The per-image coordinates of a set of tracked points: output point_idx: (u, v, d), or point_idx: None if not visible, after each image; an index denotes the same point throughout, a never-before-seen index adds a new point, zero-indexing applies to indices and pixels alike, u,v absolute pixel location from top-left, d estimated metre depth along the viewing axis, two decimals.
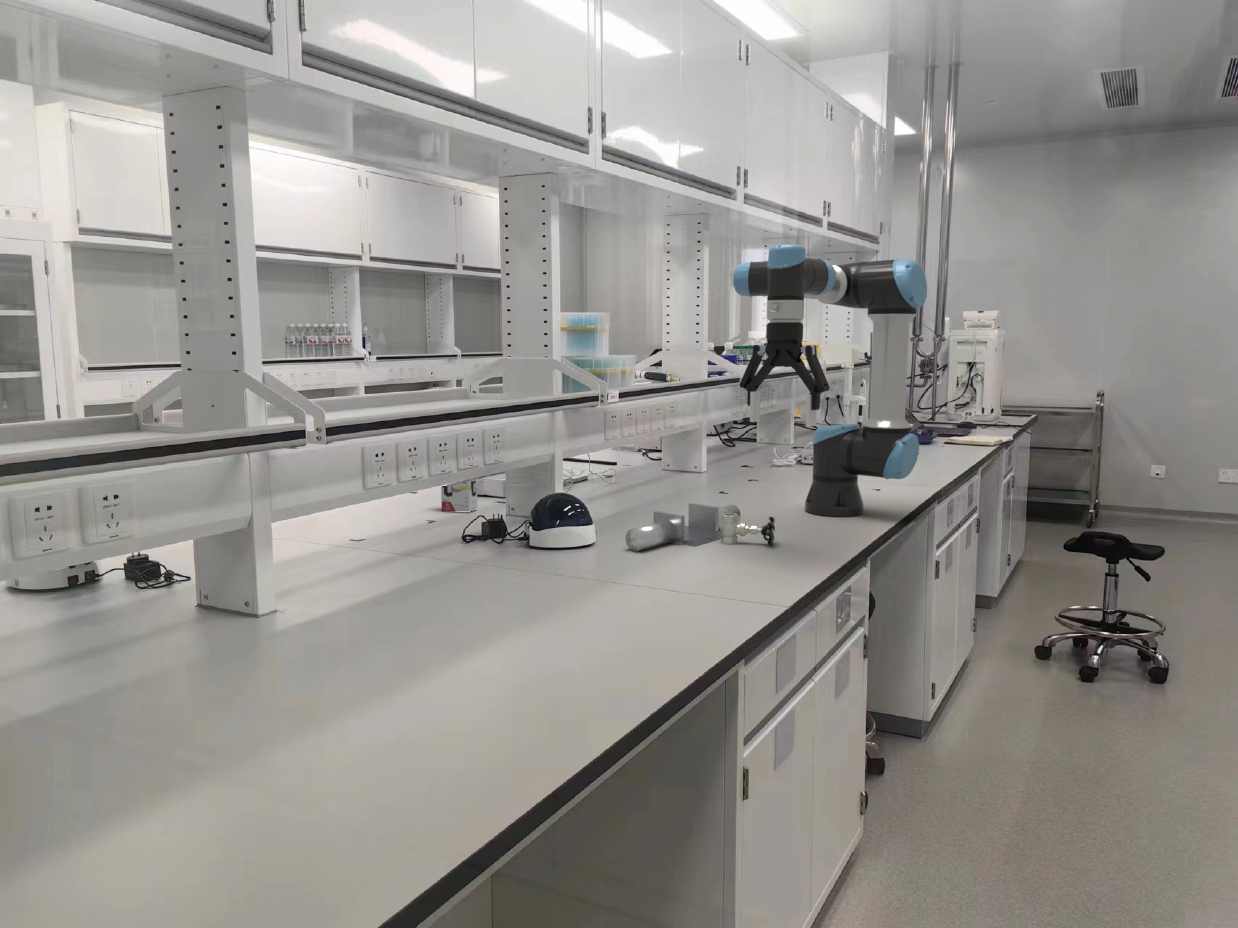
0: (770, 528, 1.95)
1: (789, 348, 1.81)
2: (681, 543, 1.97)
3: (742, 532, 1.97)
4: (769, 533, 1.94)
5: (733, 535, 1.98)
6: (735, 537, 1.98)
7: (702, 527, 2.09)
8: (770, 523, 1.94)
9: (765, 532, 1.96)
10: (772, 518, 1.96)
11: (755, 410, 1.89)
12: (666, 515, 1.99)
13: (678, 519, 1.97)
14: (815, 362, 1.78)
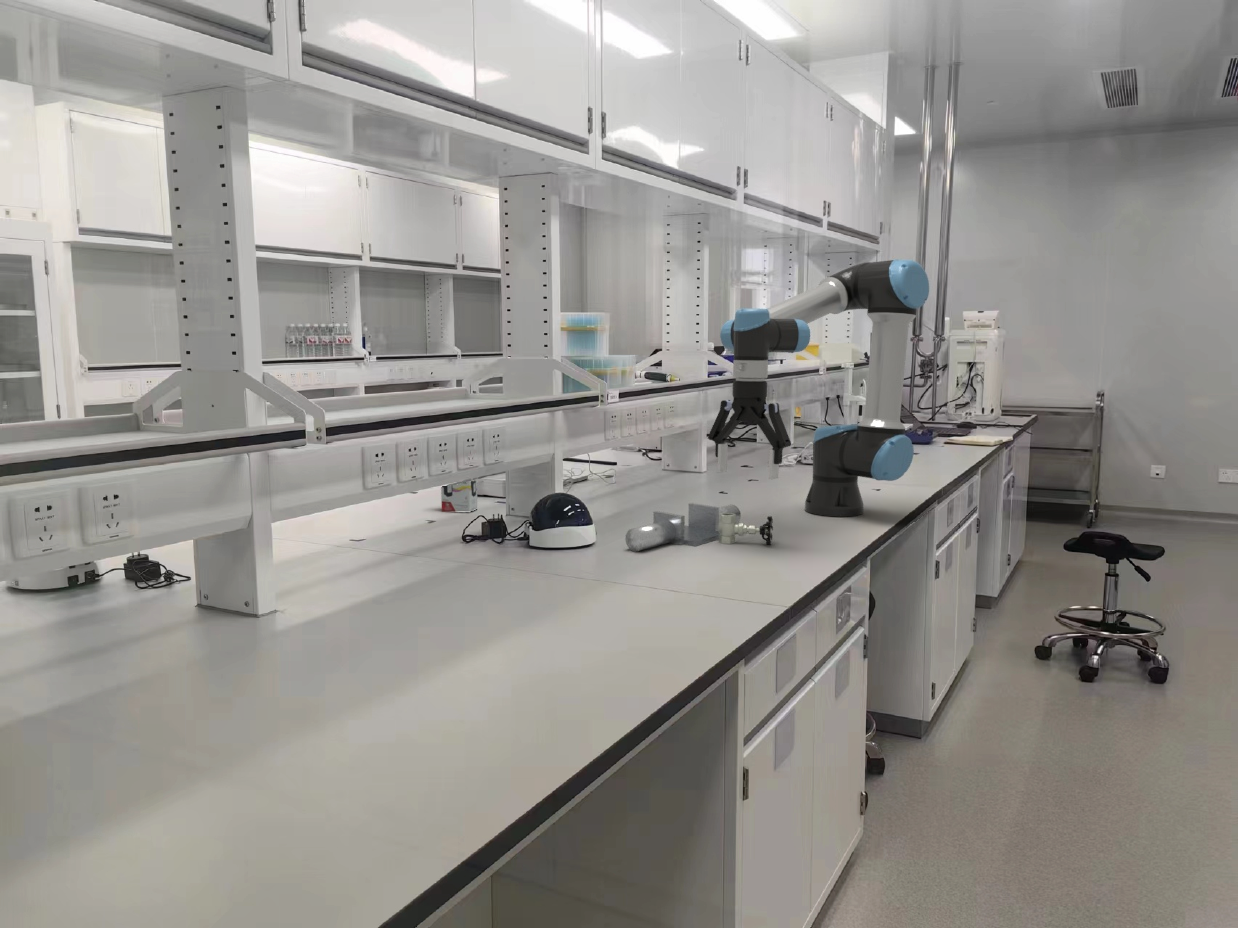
0: (768, 528, 1.95)
1: (754, 405, 1.92)
2: (681, 543, 1.97)
3: (740, 531, 1.97)
4: (767, 533, 1.94)
5: (731, 535, 1.98)
6: (733, 537, 1.99)
7: (702, 527, 2.09)
8: (768, 523, 1.94)
9: (763, 532, 1.96)
10: (770, 518, 1.96)
11: (722, 461, 2.00)
12: (666, 515, 1.99)
13: (678, 519, 1.97)
14: (777, 420, 1.89)
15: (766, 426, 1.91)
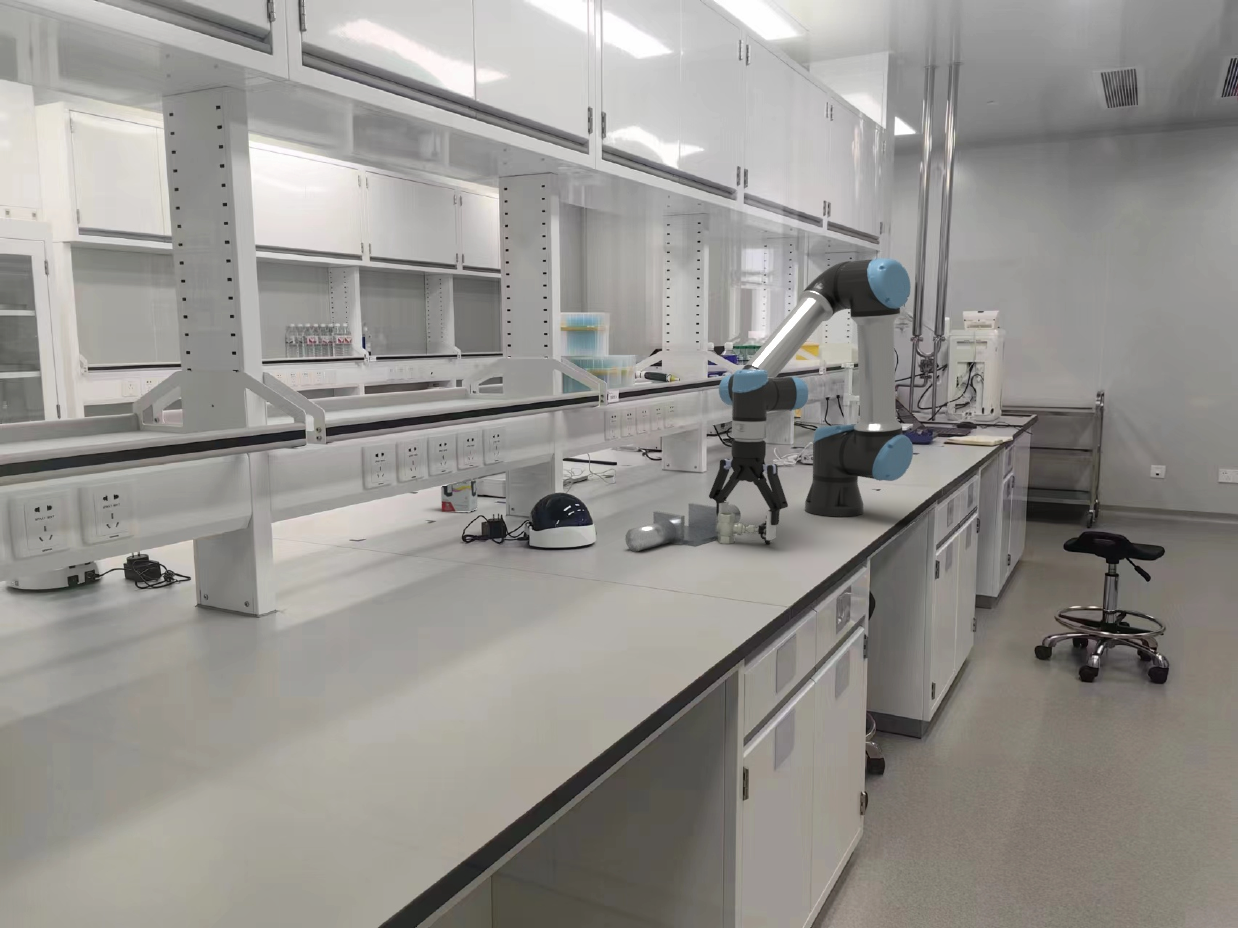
0: None
1: (752, 465, 1.94)
2: (681, 543, 1.97)
3: (739, 531, 1.97)
4: None
5: (730, 534, 1.98)
6: (732, 536, 1.99)
7: (702, 527, 2.09)
8: None
9: (762, 531, 1.96)
10: None
11: None
12: (666, 515, 1.99)
13: (678, 519, 1.97)
14: (775, 481, 1.91)
15: (764, 487, 1.93)
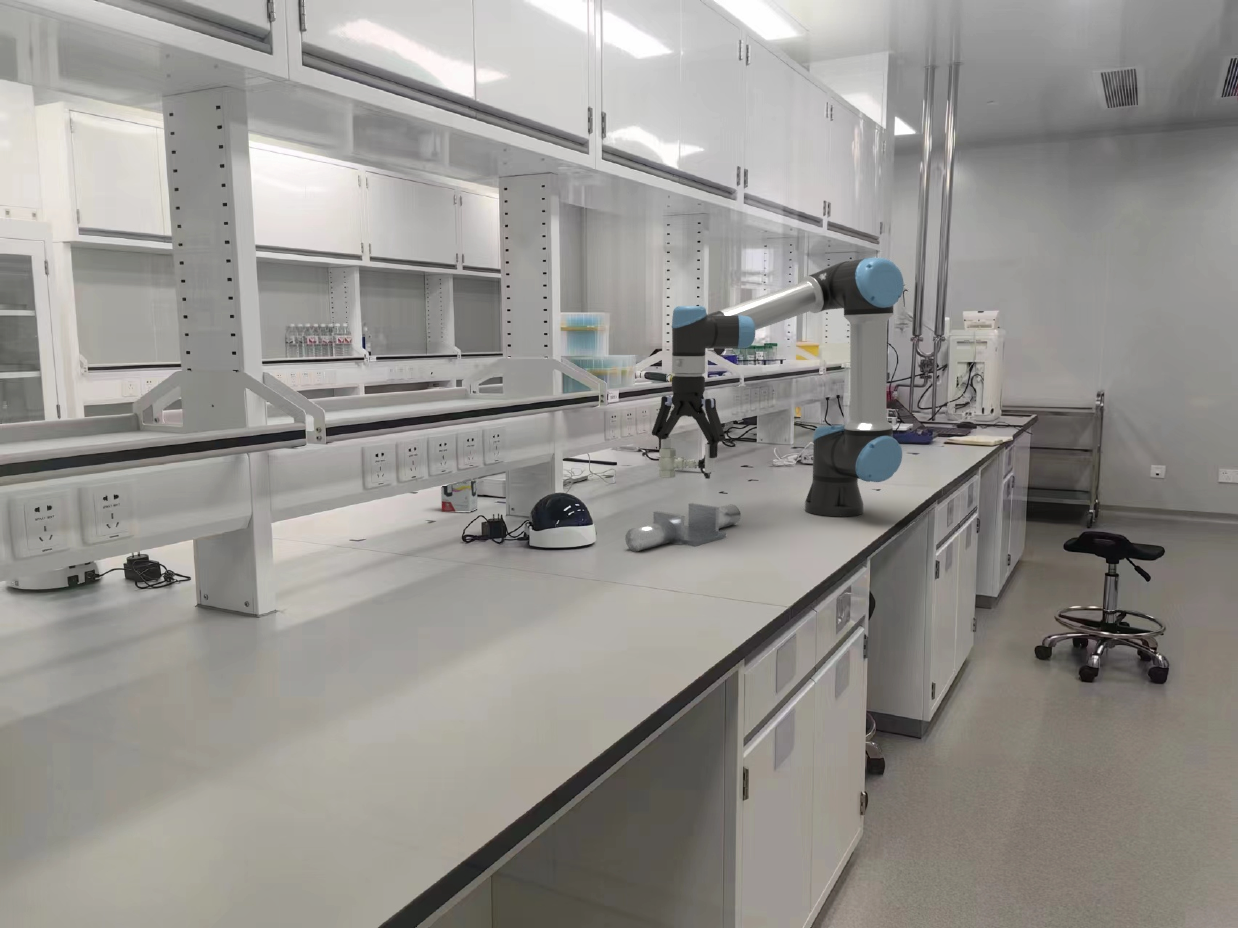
0: None
1: (691, 399, 1.98)
2: (681, 543, 1.97)
3: (680, 465, 2.01)
4: None
5: (671, 469, 2.02)
6: (673, 471, 2.03)
7: (702, 527, 2.09)
8: None
9: (702, 465, 2.01)
10: None
11: None
12: (666, 515, 1.99)
13: (678, 519, 1.97)
14: (713, 415, 1.95)
15: (703, 421, 1.97)
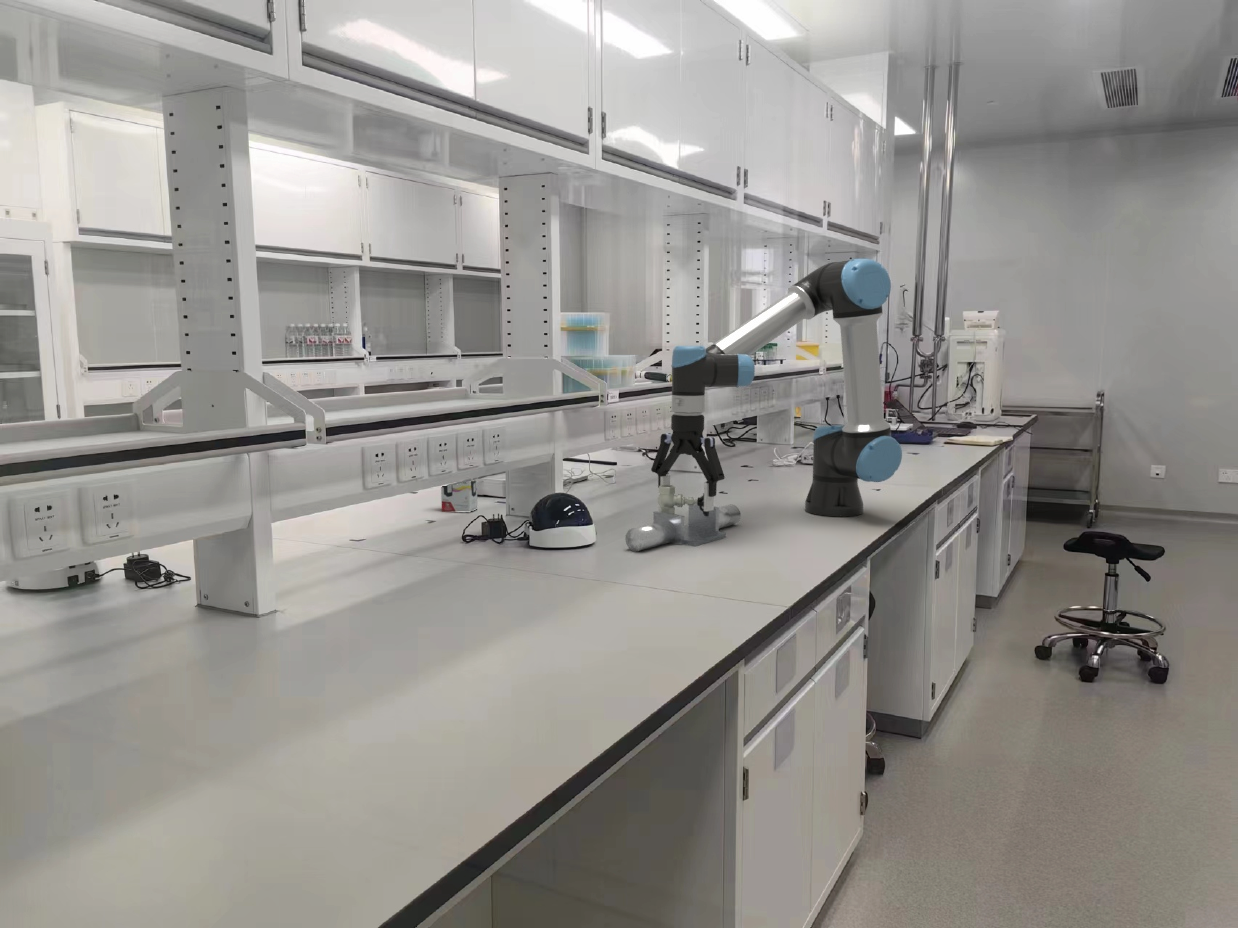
0: None
1: (691, 438, 1.99)
2: (681, 543, 1.97)
3: (679, 503, 2.03)
4: None
5: (670, 506, 2.04)
6: (672, 508, 2.04)
7: (702, 527, 2.09)
8: None
9: (701, 503, 2.02)
10: None
11: None
12: (666, 515, 1.99)
13: (678, 519, 1.97)
14: (712, 454, 1.97)
15: (702, 459, 1.98)
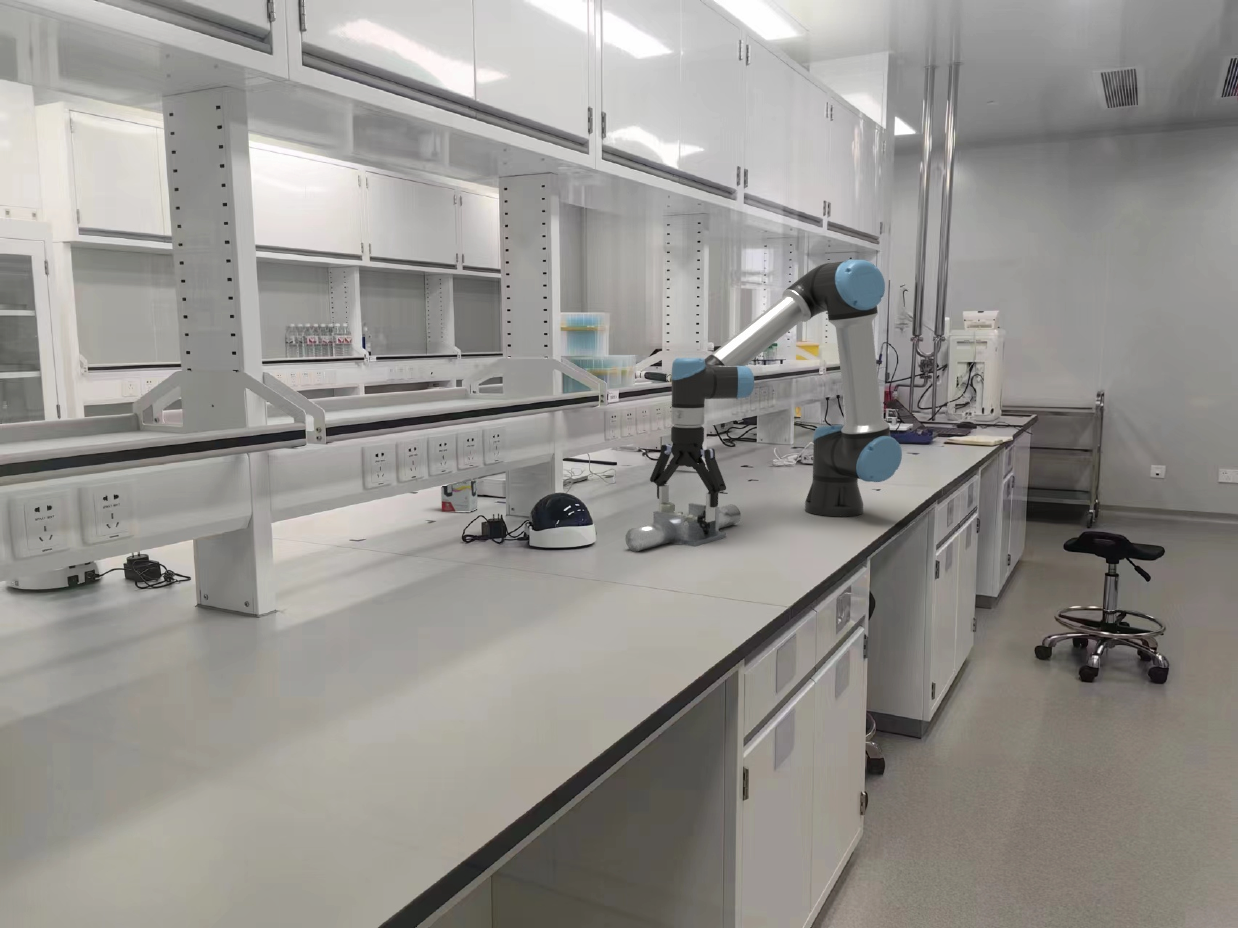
0: (705, 516, 2.01)
1: (691, 450, 2.00)
2: (681, 543, 1.97)
3: None
4: (704, 521, 2.00)
5: None
6: None
7: None
8: (705, 512, 2.01)
9: (701, 520, 2.03)
10: None
11: None
12: (666, 515, 1.99)
13: (678, 519, 1.97)
14: (713, 465, 1.97)
15: (702, 471, 1.99)
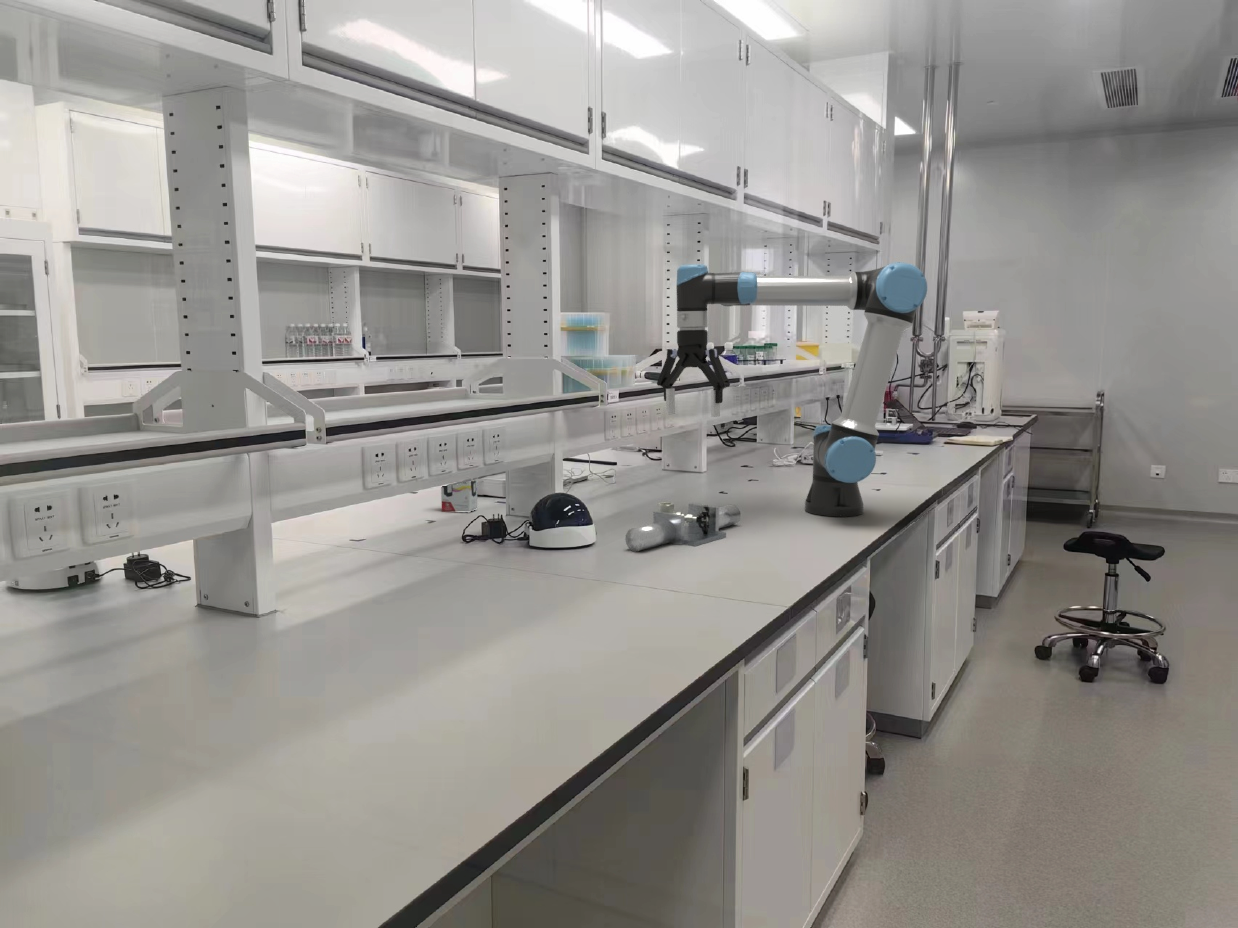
0: (704, 516, 2.01)
1: (696, 351, 2.15)
2: (681, 543, 1.97)
3: None
4: (703, 521, 2.00)
5: None
6: None
7: None
8: (704, 511, 2.01)
9: (700, 520, 2.03)
10: (706, 507, 2.03)
11: (670, 404, 2.23)
12: (666, 515, 1.99)
13: (678, 519, 1.97)
14: (717, 363, 2.12)
15: (707, 370, 2.14)
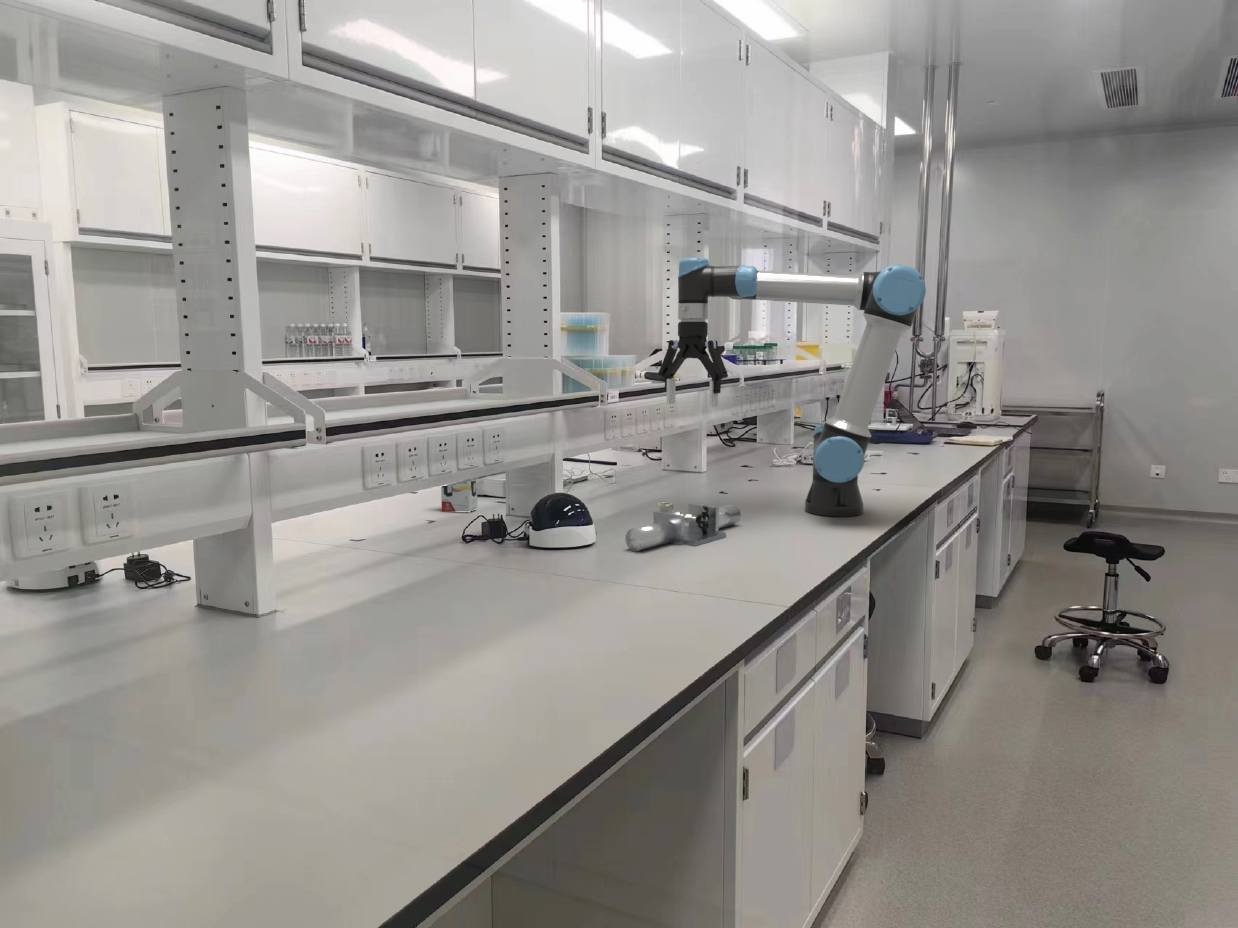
0: (704, 516, 2.01)
1: (696, 343, 2.20)
2: (681, 543, 1.97)
3: None
4: (703, 521, 2.00)
5: None
6: None
7: None
8: (704, 511, 2.01)
9: (699, 520, 2.03)
10: (706, 507, 2.03)
11: (671, 394, 2.28)
12: (666, 515, 1.99)
13: (678, 519, 1.97)
14: (716, 354, 2.17)
15: (706, 361, 2.19)
